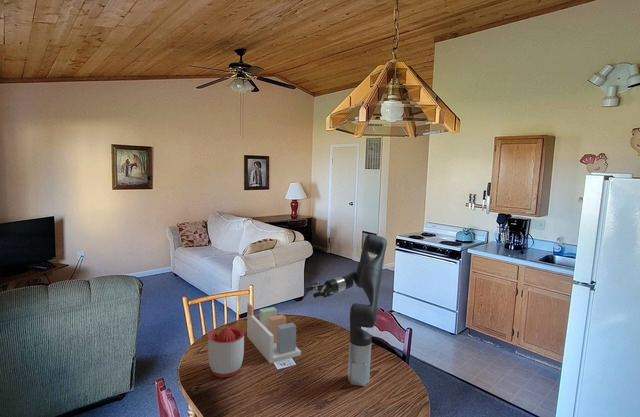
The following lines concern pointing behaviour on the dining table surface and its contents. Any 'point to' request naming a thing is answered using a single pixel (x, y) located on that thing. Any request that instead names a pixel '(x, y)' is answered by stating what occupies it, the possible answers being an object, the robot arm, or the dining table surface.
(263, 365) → the dining table surface
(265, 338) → the rack
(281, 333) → the slate block
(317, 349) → the dining table surface
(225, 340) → the citrus juicer
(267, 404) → the dining table surface
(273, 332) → the terracotta block
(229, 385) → the dining table surface
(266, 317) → the sage block
